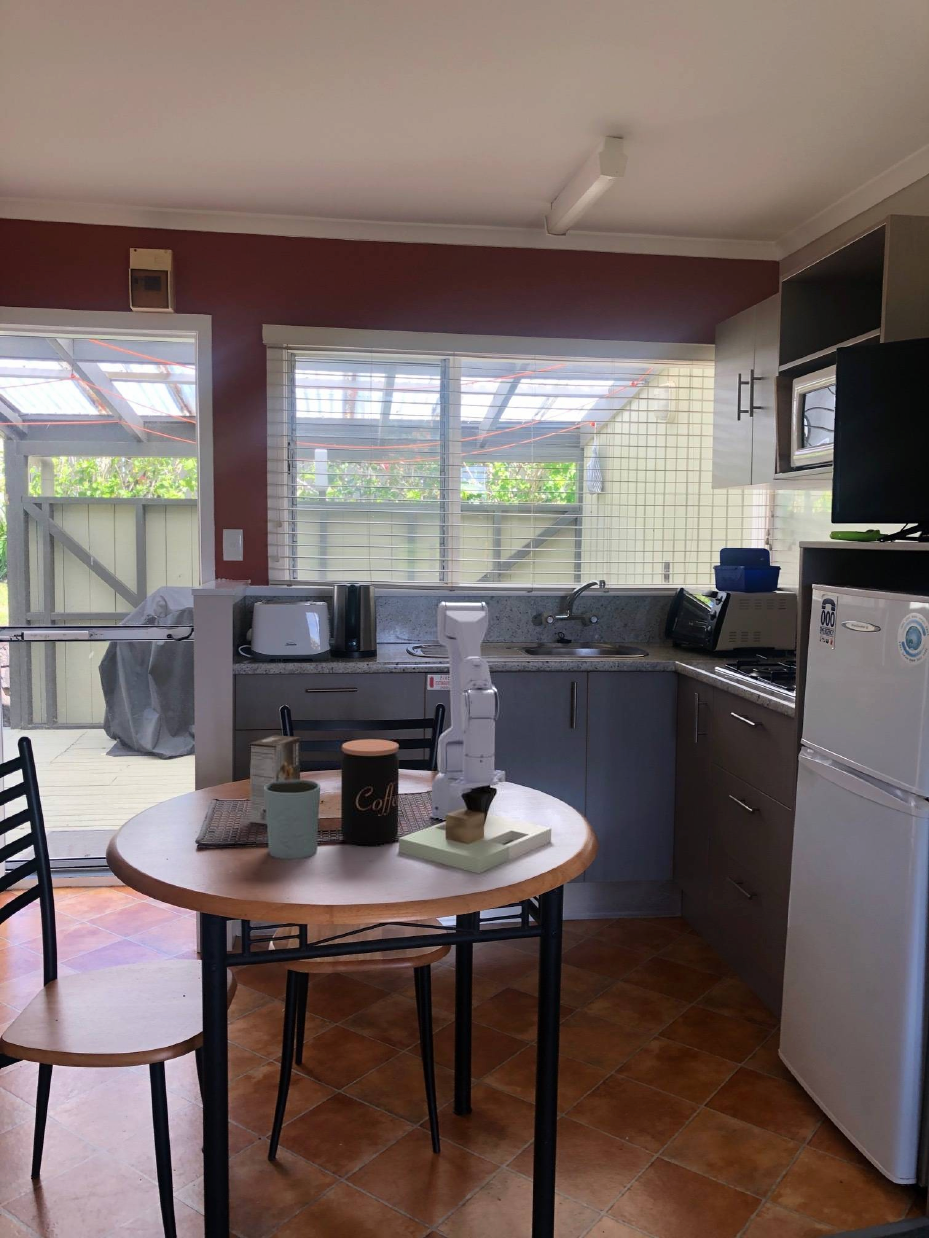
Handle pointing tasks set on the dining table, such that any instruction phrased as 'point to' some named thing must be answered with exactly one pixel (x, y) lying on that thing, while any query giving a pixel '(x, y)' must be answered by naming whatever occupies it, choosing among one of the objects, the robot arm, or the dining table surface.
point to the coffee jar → (369, 792)
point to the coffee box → (271, 768)
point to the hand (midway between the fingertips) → (477, 826)
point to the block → (464, 826)
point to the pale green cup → (292, 818)
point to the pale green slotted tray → (477, 844)
